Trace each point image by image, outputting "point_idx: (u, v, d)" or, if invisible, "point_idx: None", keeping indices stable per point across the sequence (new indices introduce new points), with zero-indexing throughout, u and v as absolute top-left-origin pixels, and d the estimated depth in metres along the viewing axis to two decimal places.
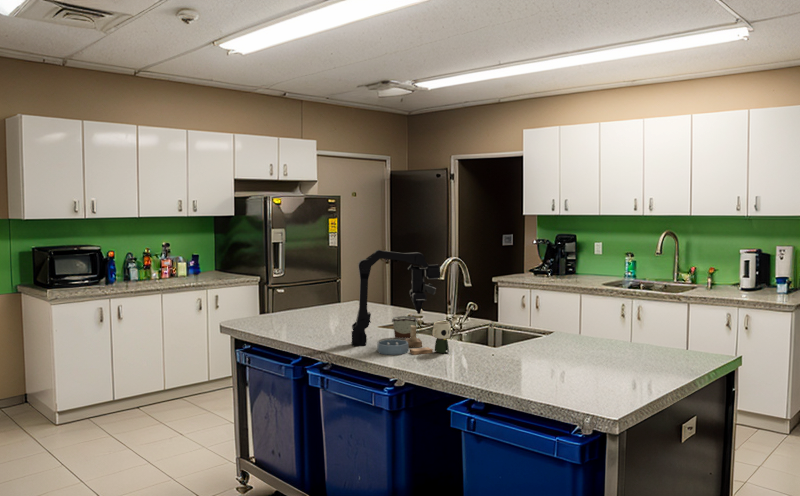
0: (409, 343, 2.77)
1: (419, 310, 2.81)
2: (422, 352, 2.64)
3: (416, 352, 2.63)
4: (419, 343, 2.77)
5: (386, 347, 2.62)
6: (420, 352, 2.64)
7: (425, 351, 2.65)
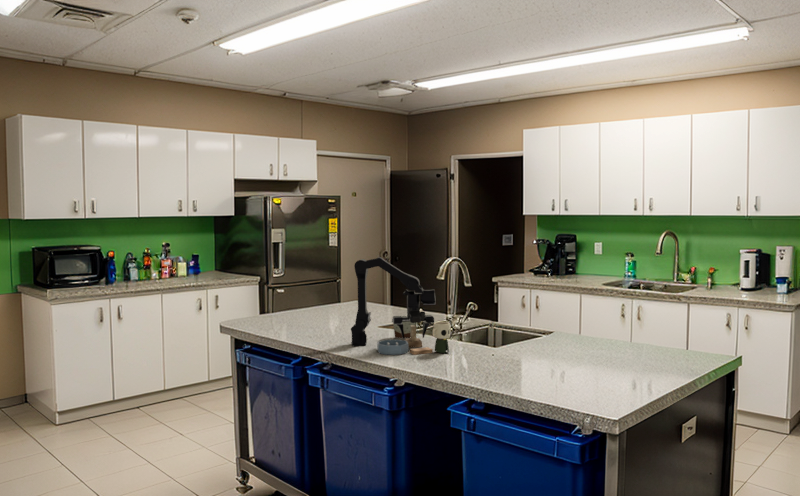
0: (409, 343, 2.77)
1: (402, 334, 2.80)
2: (422, 352, 2.64)
3: (416, 352, 2.63)
4: (419, 343, 2.77)
5: (386, 347, 2.62)
6: (420, 352, 2.64)
7: (425, 351, 2.65)
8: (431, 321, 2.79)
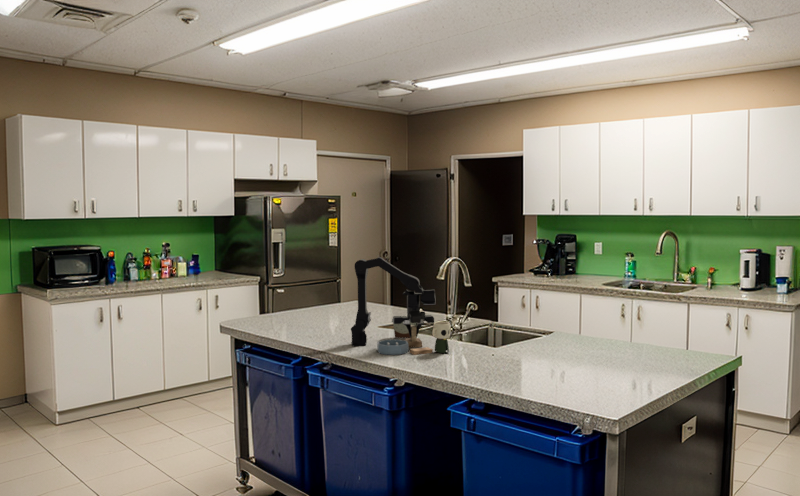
0: (409, 343, 2.77)
1: (409, 334, 2.80)
2: (422, 352, 2.64)
3: (416, 352, 2.63)
4: (419, 343, 2.77)
5: (386, 347, 2.62)
6: (420, 352, 2.64)
7: (425, 351, 2.65)
8: (431, 321, 2.78)
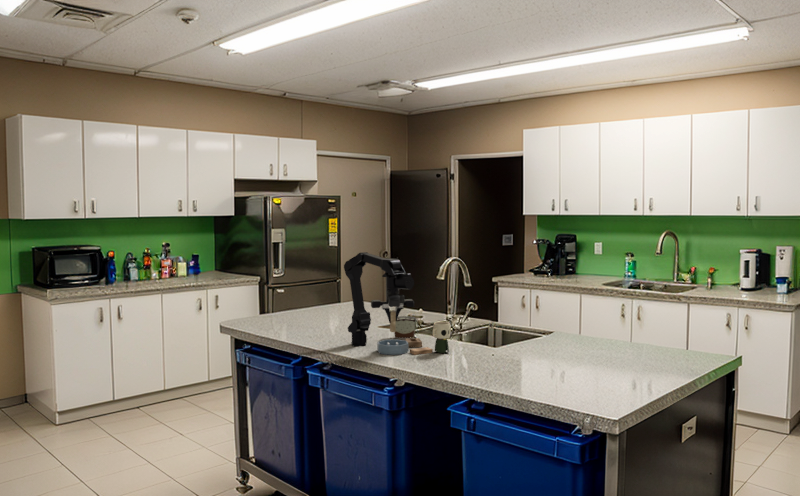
0: (409, 343, 2.77)
1: (388, 319, 2.68)
2: (422, 352, 2.64)
3: (417, 352, 2.63)
4: (419, 343, 2.77)
5: (386, 347, 2.62)
6: (420, 352, 2.64)
7: (425, 351, 2.65)
8: (411, 305, 2.66)
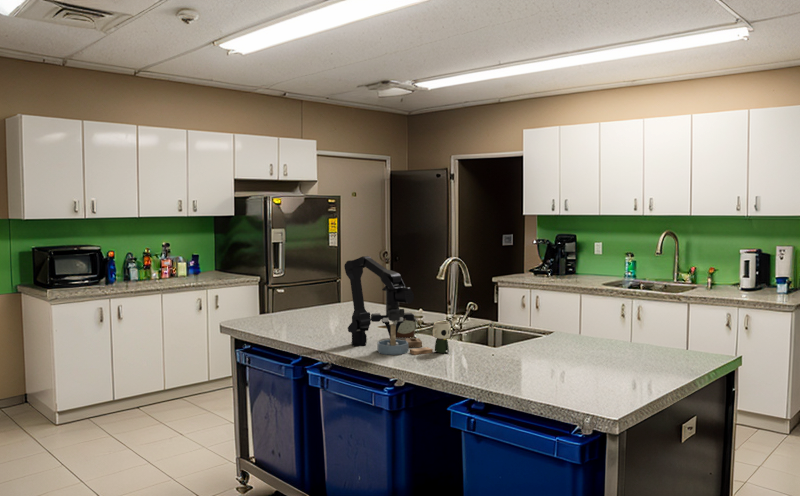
0: (409, 343, 2.77)
1: (388, 332, 2.68)
2: (422, 352, 2.64)
3: (417, 352, 2.63)
4: (419, 343, 2.77)
5: (386, 347, 2.62)
6: (420, 352, 2.64)
7: (425, 351, 2.65)
8: (411, 319, 2.66)
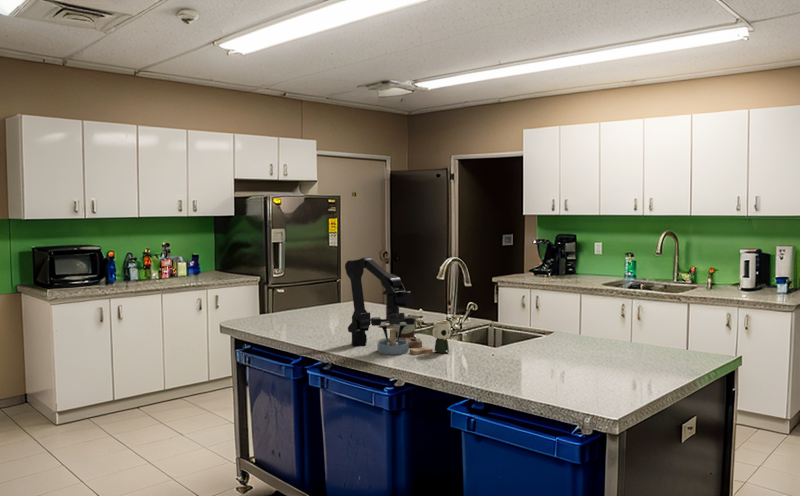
0: (409, 343, 2.77)
1: None
2: (422, 352, 2.64)
3: (417, 352, 2.63)
4: (419, 343, 2.77)
5: (386, 347, 2.62)
6: (421, 352, 2.64)
7: (425, 351, 2.65)
8: (411, 323, 2.66)
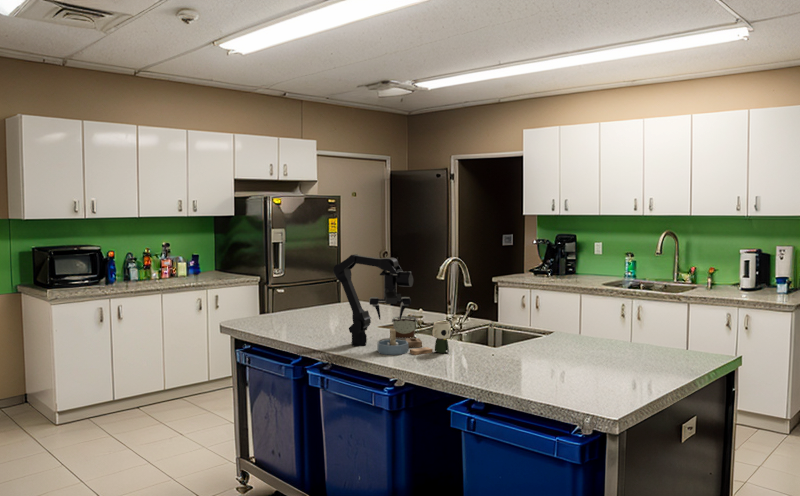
0: (409, 343, 2.77)
1: (378, 316, 2.76)
2: (423, 352, 2.64)
3: (417, 352, 2.63)
4: (419, 343, 2.77)
5: (386, 347, 2.62)
6: (421, 352, 2.64)
7: (425, 351, 2.65)
8: (408, 303, 2.74)
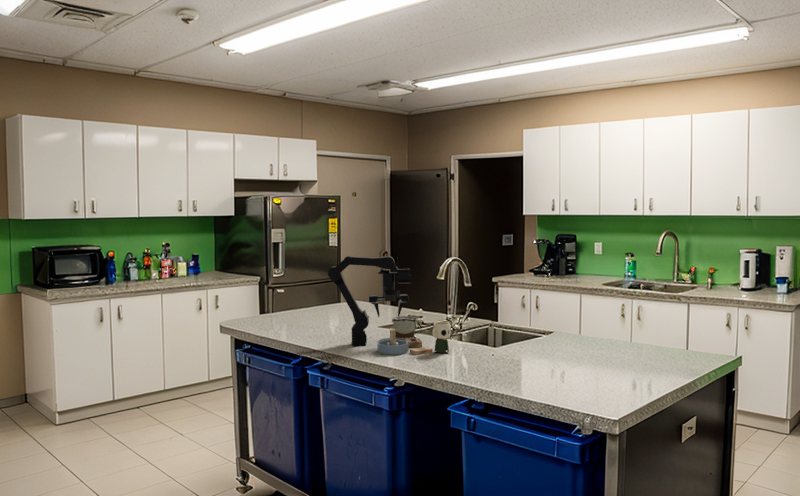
0: (409, 343, 2.77)
1: (377, 313, 2.82)
2: (423, 352, 2.64)
3: (417, 352, 2.63)
4: (419, 343, 2.77)
5: (386, 347, 2.62)
6: (421, 352, 2.64)
7: (425, 351, 2.65)
8: (406, 300, 2.80)
